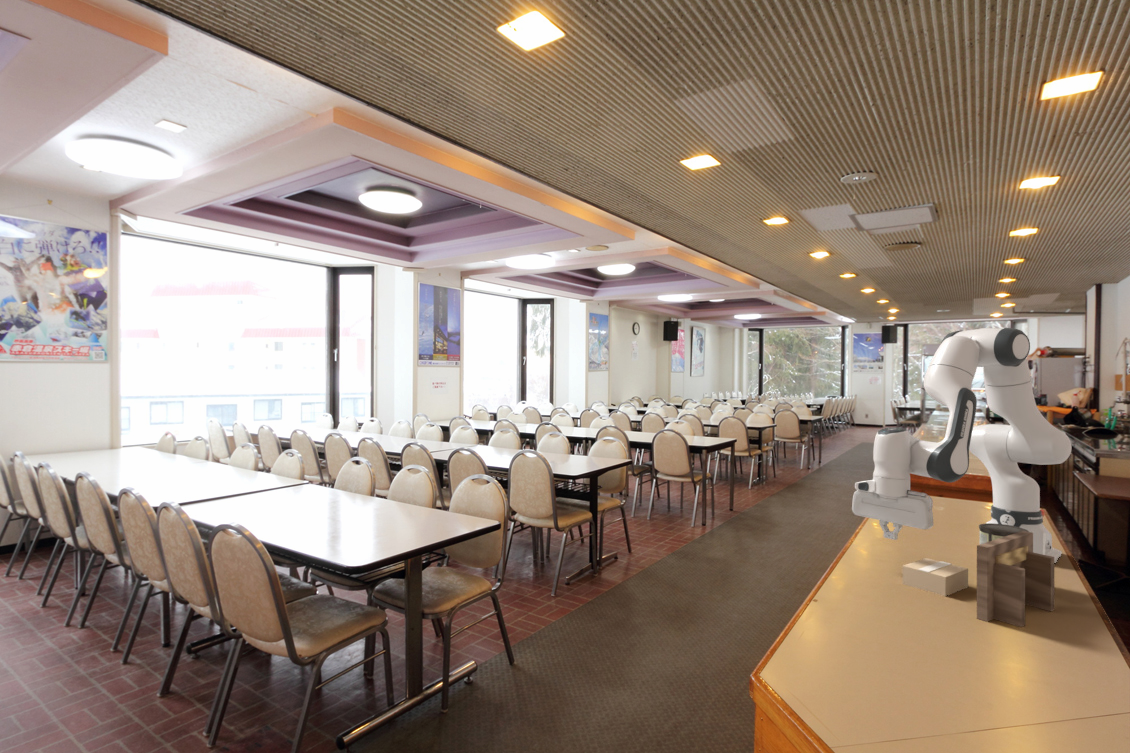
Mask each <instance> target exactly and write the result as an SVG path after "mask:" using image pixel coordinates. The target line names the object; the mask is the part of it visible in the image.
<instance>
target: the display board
mask: <svg viewBox="0 0 1130 753" xmlns="http://www.w3.org/2000/svg"><path fill="white" fill-rule="evenodd" d="M1026 605H1027V606H1031V607H1035V608H1038V609H1041V610H1045V611H1049V612H1053V611H1055V564H1054V557H1052V556H1047V555H1043V554H1038V553H1033V533H1032V532H1027V531H1021V532H1017V533H1014V534H1011V535H1008V536H1005V537H1002V538H999V539H996V540H993V541H989V542H986V543H983V544H980V543H979V544H978V545H976V619H978V620H981V621H984V622H986V623H987V622H990V621H991V620H996V621H1000V622H1003V623H1006V624H1010V625H1011V626H1012V625H1013V626H1017V627H1020V628H1022V627H1024V626H1026Z"/></svg>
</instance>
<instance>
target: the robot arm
mask: <svg viewBox="0 0 1130 753" xmlns="http://www.w3.org/2000/svg"><path fill="white" fill-rule="evenodd" d="M1030 350H1031V343H1030V339H1029V337H1028V335H1026V334H1025V332H1023V330H1021V329H1018V328H1011V327H1005V328H999V327H981V328H977V329H967V330H961V329H960V330H957V331H956V330H955V331H953V332H950V333H949V332H948V333H947V334H946V335H945V336H944V337H943V338H942V340H941V342H940V345H939V346H938V347H937V349H936V351H935V353H934V354H933V357H932V359H931V361H930V362H929V365H928V366H927V370H926V371H925V372H926V373H925V374H924V377H923V378H924V379H923V385H922V386H923V388H924V390H925V393H926V394H927V395H928V396H929V397H930V398H932V399H933V400H934V401H936V403H937V402H938V403H939V404H941V405H943V406H945V407H947V408H948V411H949V415H948V420H947V425H946V431H945V435H944V438H943V439H942V440H940V441H939V442H938V441H928V440H923V439H920V438H917V437H916V436H914V435H912V434H910V432H909V430H908V429H907V428H904V427H900V426H899V427H897V426H896V427H895V426H894V427H893V426H892V427H884V428H881V429H879V430H878V431H877V432H876V434H875V436H874V437H875V438H874V442H873V450H872V451H873V453H872V456H873V457H872V460H873V463H874V464H873V465H874V470H873V473H872V478H871V479H867V480H861V481H856V482H855V483H854V489H855V491H854V492H853V496H852V504H851V505H852V506H851V511H852V513H853V514H854V516H859V517H863V518H867V519H872V520H878V522H879V526H880V528H881V530H882V532H883V538H885V539H890V540H893V541H896V540H898V539H899V538H898V537H899V533H900V531H901V530H902V528H903V526H905V527H911V528H916V529H919V530H929V529H932V528H933V526H934V514H933V513H934V512H933V506H934V504H933V498H932V497H931V496H930V495H929V494H928V493H925V492H919V491H915V490H911V474H912V475H916V476H921V477H925V478H932V479H933V480H938V481H941V482H943V483H944V482H945V483H948V484H949V483H955V482H957V481H959V480H960V479H961V478H962V477H964V476H965V475H966V474H967V472H968V470H969V466H970V454H972V455H973V456H975V457H976V458H977V459H978V460H979V461H981V463H982V464H983V465H984V468H986V470H987V472H988V475H989V477H990V481H991V487H992V505H991V507H990V516H991V519H990V520H988V521H987V522H986V523H992V524H1004V525H1011V526H1016V527H1020V528H1023V529H1026V530H1028V531H1029V532H1032V533H1033V553H1038V554H1043V555H1047V556H1052V557H1054V563H1056V562H1058V561H1059V560H1058V558H1059V557H1060V558H1061V556H1062V555H1063V553H1062V552H1063V551H1062V550H1060V549H1057V548H1054V547H1053V540H1052V539H1053V538H1052V537H1053V536H1052V534H1051V532H1049V530H1048V529H1047V527H1045V525H1044V524H1043V523H1044V521H1043V520H1044V519H1043V517H1044V516H1045V510H1044V509H1040V506H1041V504H1040V503H1041V502H1040V501H1041V496H1040V495H1041V494H1040V493H1041V492H1040V491H1041V488H1040V485H1039V484H1038V482H1037V481H1036V480H1035V479H1034V478H1032V477H1031V476H1029V475H1027V474H1025V473H1024V472H1023V471H1022V470H1021V469H1020V467H1019V465H1018V463H1022V464H1031V465H1039V466H1041V465H1043V466H1044V465H1045V466H1046V465H1059V464H1064V463H1065V461H1067V460H1068V458H1069V457H1070V456H1071V454H1072V442H1071V439H1070V438H1069V436H1068V435H1067V434H1066V433H1065V432H1064V431H1062V430H1060V429H1059V428H1057V427H1055V425H1053V424H1052V423H1051V422H1049V421H1048V420H1047V419H1046V418H1045V417H1044V416H1043V414H1042V413H1041V411H1040V410H1039V408H1038V406H1037V402H1036V399H1035V396H1034V395H1035V394H1034V389H1033V382H1032V376H1031V372H1030V367H1029V364H1028V360H1027V357H1028V355H1029V354H1030ZM978 368H982V369H983V382H984V389H985V390H984V391H985V397H986V403H987V407H988V408H989V410H990V411H991V412H992V413H993V414H995V415H997V416H999V417H1001V418H1003V419H1004V420H1006V421H1007V423H1008V424H1000V423H999V424H998V423H990V424H989V423H987V424H981V425H980V424H979V425H978V424H977V425H974V424H975V419H976V413H977V404H978V401H977V396H976V394H975V392H973V391H972V383H973V381H974V378H975V376H976V372H977V369H978ZM889 523H892V527H893V528H894V529H893V531H892V530H890V529H889V527H888V525H889ZM1061 554H1062V555H1061ZM1060 558H1059V559H1060ZM1057 560H1058V561H1057ZM1056 564H1057V563H1056Z"/></svg>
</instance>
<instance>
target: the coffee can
mask: <svg viewBox="0 0 1130 753" xmlns="http://www.w3.org/2000/svg"><path fill="white" fill-rule="evenodd" d="M978 528H979V545H980V544H983V543H986V542H989V541H993V540H996V539H999V538H1002V537H1005V536H1008V535H1011V534H1014V533H1017V532H1021V531H1027V532H1029V531H1028V530H1026V529H1023V528H1020V527H1016V526H1011V525H1004V524H992V523H987V522H985V523H979V525H978Z"/></svg>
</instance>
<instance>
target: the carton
mask: <svg viewBox="0 0 1130 753" xmlns="http://www.w3.org/2000/svg"><path fill="white" fill-rule="evenodd" d="M902 585H905V586H907V587H911V588H914V587H915V588H914V589H918V588H919V589H918V590H921V589H922V591H925V590H926V592H928V591H930V592H929V593H931V592H934V593H933V594H935V593H937V594H936V595H938V594H940V595H939V596H942V595H943V596H942V597H945V596H946V597H948V596H950V594H951V595H953V594H955V593H958V592H960V591H962V589H963V590H964V589H965V590H966V589H967V588H969V568H966V567H963V566H959V565H955V564H952V563H950V562H948V561H947V562H946V561H942V560H941V561H939V560H935V559H931V558H927V557H924V558H921V559H919V560H916V561H913V562H910V563H907V564H903V565H902ZM957 591H958V592H957ZM952 593H953V594H952ZM947 595H948V596H947Z"/></svg>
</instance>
